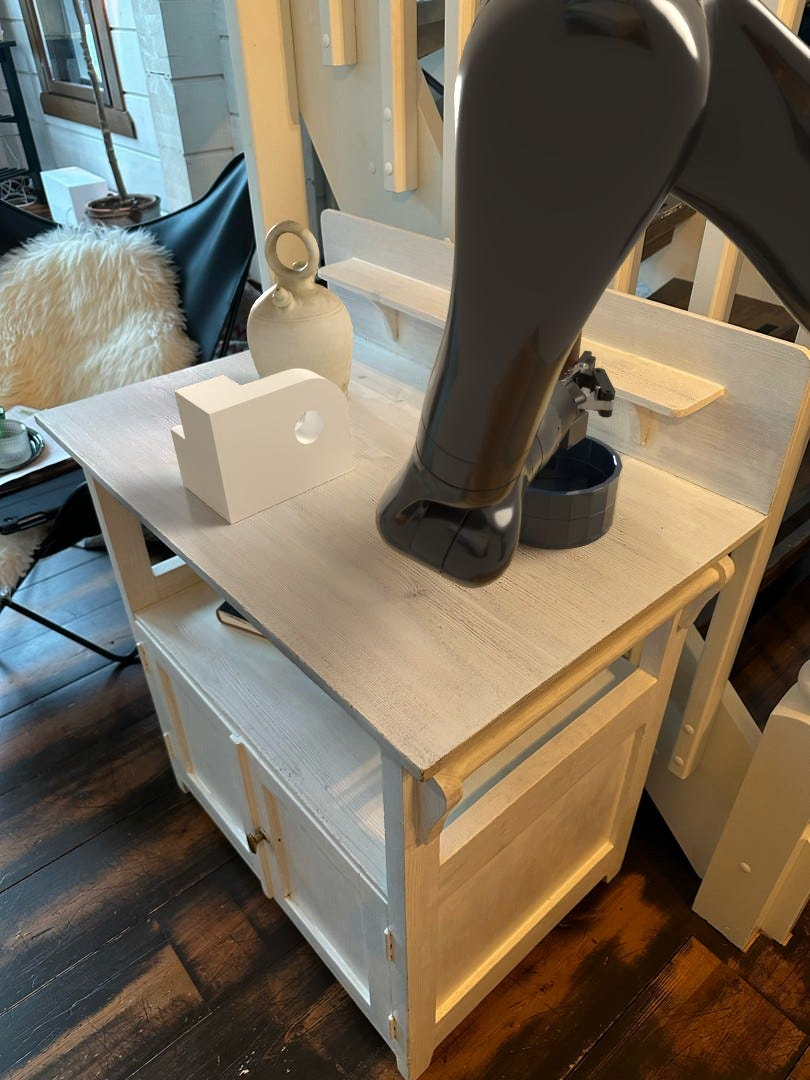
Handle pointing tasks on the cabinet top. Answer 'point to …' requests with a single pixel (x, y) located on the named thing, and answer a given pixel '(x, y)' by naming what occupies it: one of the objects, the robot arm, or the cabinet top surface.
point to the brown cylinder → (580, 423)
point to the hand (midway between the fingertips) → (571, 357)
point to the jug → (300, 318)
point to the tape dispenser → (261, 439)
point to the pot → (572, 497)
